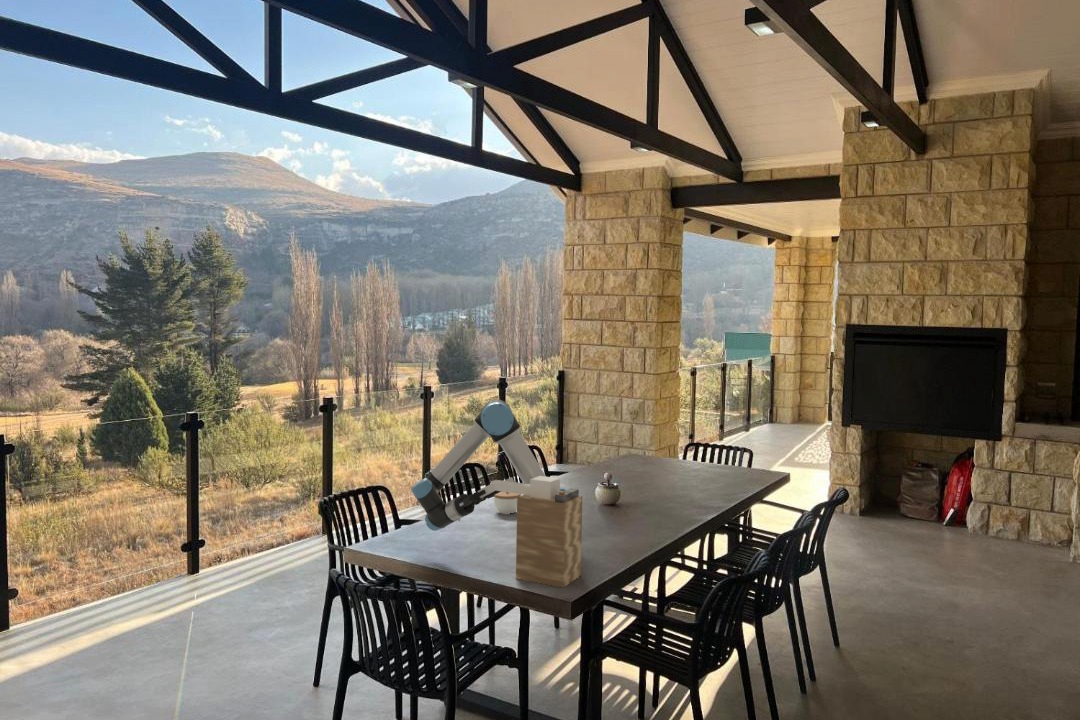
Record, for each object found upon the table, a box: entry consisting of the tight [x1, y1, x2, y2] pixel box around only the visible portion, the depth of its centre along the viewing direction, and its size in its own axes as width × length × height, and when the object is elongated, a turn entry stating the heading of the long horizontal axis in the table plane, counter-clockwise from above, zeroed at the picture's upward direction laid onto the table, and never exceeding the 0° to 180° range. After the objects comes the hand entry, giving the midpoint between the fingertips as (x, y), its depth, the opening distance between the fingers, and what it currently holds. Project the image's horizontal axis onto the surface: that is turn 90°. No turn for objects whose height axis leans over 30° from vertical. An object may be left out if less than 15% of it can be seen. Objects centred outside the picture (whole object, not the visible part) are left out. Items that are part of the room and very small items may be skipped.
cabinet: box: [515, 487, 583, 589], centre depth 251 cm, size 14×18×31 cm
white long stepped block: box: [490, 475, 561, 499], centre depth 255 cm, size 7×25×6 cm, turn 61°
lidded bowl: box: [493, 491, 522, 515], centre depth 341 cm, size 13×13×11 cm
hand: (503, 483), depth 259 cm, fingers open, 13 cm apart
